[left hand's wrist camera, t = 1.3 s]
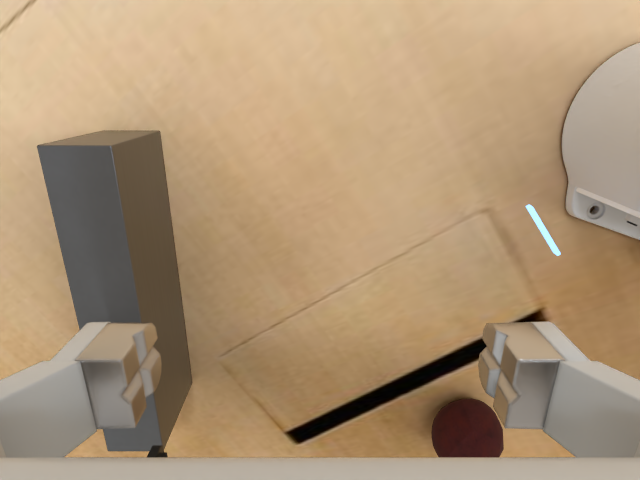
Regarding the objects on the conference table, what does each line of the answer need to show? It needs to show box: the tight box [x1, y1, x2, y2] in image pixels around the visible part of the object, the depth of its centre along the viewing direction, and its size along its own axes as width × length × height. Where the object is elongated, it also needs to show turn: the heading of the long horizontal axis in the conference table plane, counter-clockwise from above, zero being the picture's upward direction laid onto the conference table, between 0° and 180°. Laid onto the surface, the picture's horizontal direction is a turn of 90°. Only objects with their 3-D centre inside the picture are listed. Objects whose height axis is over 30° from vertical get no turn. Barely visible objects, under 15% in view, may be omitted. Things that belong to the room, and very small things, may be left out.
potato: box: [432, 399, 503, 457], centre depth 45 cm, size 7×8×7 cm
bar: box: [37, 131, 192, 451], centre depth 38 cm, size 28×5×9 cm, turn 0°
